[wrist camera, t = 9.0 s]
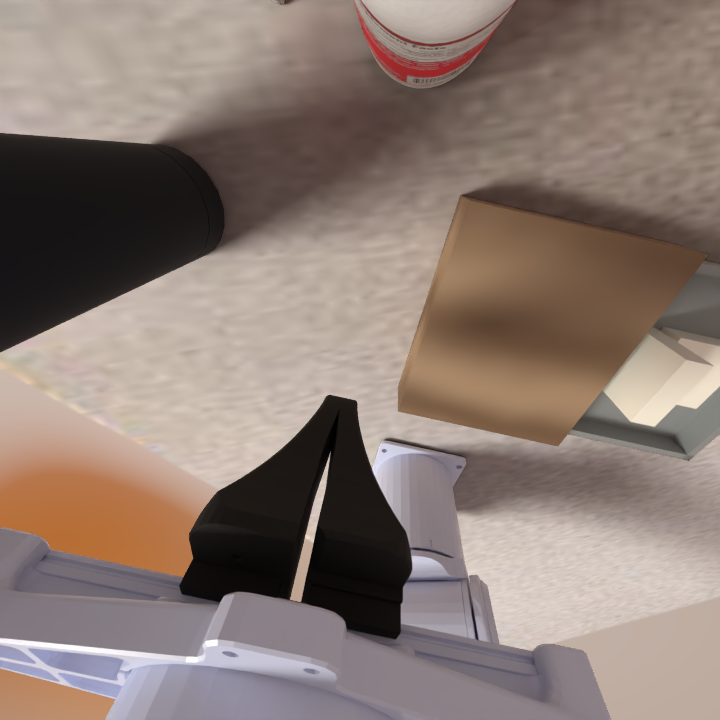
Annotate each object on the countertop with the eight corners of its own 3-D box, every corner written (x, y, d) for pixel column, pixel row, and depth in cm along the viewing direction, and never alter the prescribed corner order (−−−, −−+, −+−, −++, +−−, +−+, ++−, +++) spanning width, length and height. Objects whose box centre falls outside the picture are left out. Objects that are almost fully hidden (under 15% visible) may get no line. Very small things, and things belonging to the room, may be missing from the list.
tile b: (631, 394, 21) (618, 381, 22) (696, 409, 21) (679, 395, 22) (681, 337, 19) (663, 326, 20) (753, 353, 19) (731, 341, 20)
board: (542, 418, 25) (558, 446, 23) (398, 386, 25) (397, 411, 23) (665, 241, 18) (709, 254, 15) (460, 195, 18) (470, 200, 15)
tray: (669, 440, 25) (688, 460, 24) (549, 414, 25) (559, 432, 23) (830, 288, 18) (875, 301, 16) (664, 251, 18) (691, 260, 16)
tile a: (591, 378, 22) (611, 382, 23) (630, 421, 19) (654, 426, 19) (632, 322, 20) (655, 327, 20) (686, 360, 16) (714, 366, 16)
